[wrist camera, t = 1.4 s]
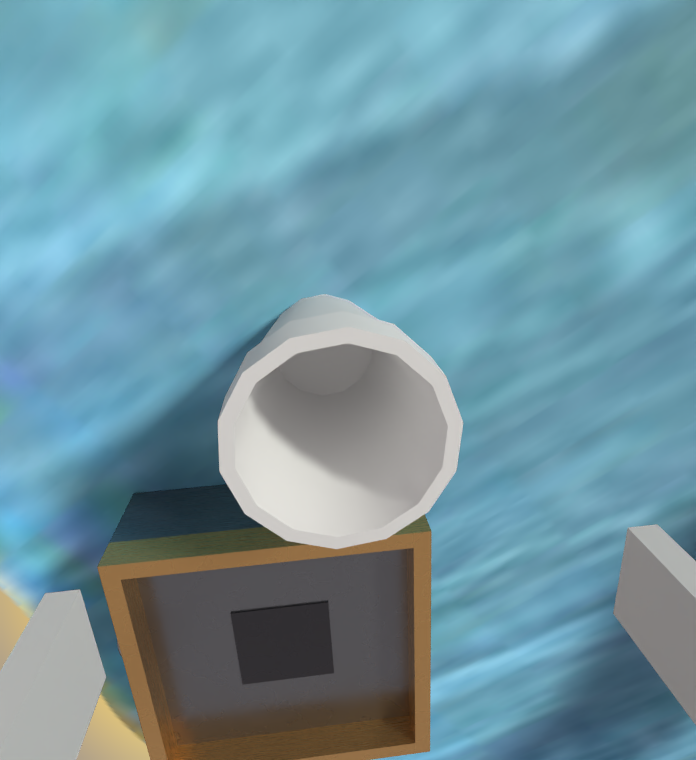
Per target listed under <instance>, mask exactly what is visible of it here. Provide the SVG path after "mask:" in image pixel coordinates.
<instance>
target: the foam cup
mask: <svg viewBox="0 0 696 760" xmlns="http://www.w3.org/2000/svg"><path fill="white" fill-rule="evenodd" d="M462 428H463V421H462V418H461V415H460V413H459V410H458V407H457V404H456V402H455V399H454V396H453V394H452V391H451V388H450V386H449V383H448V380H447V378H446V375H445V374H444V373H443V372H442V370H441V369H440V368H439V366H438V365H437V364H436V362H435V361H434V360H433V359H432V357H431V356H430V355H429V354H428V353H426V352H425V351H424V350H423V349H422V348H421V347H420V346H418V345H417V344H416V343H415V342H414V341H413V340H412V339H410V338H409V337H408V336H407V335H406V334H405V333H404V332H402V331H401V330H400V329H399V328H398V327H397V326H396V325H394V324H392V323H388V322H384V321H380V320H378V319H377V318H375V317H373V316H372V315H370V314H369V313H367V312H366V311H364V310H363V309H361V308H360V307H358V306H357V305H355V304H354V303H352V302H351V301H349V300H346V299H342V298H338V297H334V296H330V295H326V294H323V295H318V296H313V297H308V298H303V299H300V300H299V301H298V302H296V303H295V304H294V305H292V306H291V307H290V308H288V309H287V310H286V311H284V312H283V313H282V314H281V315H280V316H279V318H278V319H277V321H276V322H275V323H274V325H273V326H272V327H271V329H270V330H269V332H268V333H267V334H266V336H265V337H264V339H263V340H262V341H261V343H259V344H258V345H257V346H255V347H254V348H253V349H251V350H250V351H249V352H247V354H246V356H245V358H244V360H243V362H242V364H241V366H240V368H239V370H238V372H237V374H236V376H235V378H234V380H233V382H232V384H231V386H230V388H229V390H228V392H227V394H226V396H225V398H224V402H223V405H222V408H221V412H220V415H219V419H218V444H219V472H220V473H221V475H222V477H223V478H224V480H225V482H226V483H227V485H228V487H229V488H230V490H231V492H232V493H233V495H234V497H235V498H236V500H237V502H238V503H239V505H240V507H241V508H242V510H243V512H244V513H245V514H246V515H247V516H249V517H250V518H252V519H253V520H255V521H257V522H258V523H260V524H261V525H263V526H264V527H266V528H267V529H269V530H271V531H272V532H274V533H275V534H277V535H278V536H280V537H281V538H283V539H285V540H286V541H291V542H297V543H303V544H308V545H314V546H320V547H326V548H332V549H340V548H345V547H350V546H355V545H359V544H364V543H369V542H374V541H379V540H384V539H387V538H389V537H390V536H392V535H393V534H395V533H396V532H398V531H399V530H401V529H403V528H404V527H406V526H407V525H409V524H410V523H412V522H413V521H415V520H416V519H418V518H420V517H421V516H423V515H424V514H426V513H427V512H429V511H430V509H431V508H432V506H433V505H434V503H435V502H436V500H437V499H438V497H439V496H440V494H441V493H442V491H443V490H444V488H445V487H446V485H447V484H448V482H449V481H450V479H451V478H452V477H453V475H454V474H455V472H456V470H457V463H458V456H459V449H460V442H461V435H462Z"/></svg>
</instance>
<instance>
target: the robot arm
mask: <svg viewBox="0 0 696 760" xmlns="http://www.w3.org/2000/svg"><path fill="white" fill-rule="evenodd" d="M613 614H614V615H615V617H616V618H617V619H618V621H619V622H620V623H621V625H622V626H623V627H624V629H625V630H626V631H627V633H628V634H629V635H630V637H631V638H632V640H633V641H634V642H635V644H636V645H637V646H638V648H639V649H640V650H641V652H642V653H643V654H644V656H645V657H646V658H647V660H648V661H649V663H650V664H651V665H652V667H653V668H654V669H655V671H656V672H657V673H658V675H659V676H660V677H661V679H662V680H663V681H664V683H665V684H666V686H667V687H668V688H669V690H670V691H671V692H672V694H673V695H674V696H675V698H676V699H677V700H678V702H679V703H680V704H681V706H682V707H683V709H684V710H685V711H686V713H687V714H688V715H689V717H690V718H691V719H692V721H693V722H694V723H695V725H696V561H695V560H694V559H693V558H692V557H691V556H690V555H689V554H688V553H687V552H686V551H685V550H683V549H682V548H681V547H680V546H679V545H678V544H677V543H676V542H675V541H674V540H673V539H672V538H671V537H670V536H669V535H668V534H667V533H666V532H665V531H664V530H662V529H661V528H660V527H659V526H658V525H648V526H639V527H630V528H628V530H627V535H626V541H625V547H624V553H623V559H622V565H621V571H620V577H619V583H618V588H617V594H616V600H615V606H614V612H613ZM105 679H106V675H105V672H104V668H103V665H102V661H101V658H100V655H99V651H98V648H97V645H96V641H95V638H94V635H93V631H92V628H91V625H90V621H89V618H88V615H87V611H86V608H85V604H84V601H83V598H82V594H81V591H80V589H79V590H70V591H62V592H53V593H45V595H44V596H43V598H42V600H41V601H40V603H39V605H38V607H37V608H36V610H35V612H34V614H33V615H32V617H31V619H30V620H29V622H28V624H27V626H26V627H25V629H24V631H23V633H22V634H21V636H20V638H19V640H18V641H17V643H16V645H15V646H14V648H13V650H12V652H11V653H10V655H9V657H8V659H7V660H6V662H5V664H4V666H3V667H2V669H1V671H0V760H76V759H77V757H78V754H79V751H80V748H81V746H82V743H83V740H84V737H85V735H86V732H87V729H88V726H89V723H90V721H91V718H92V715H93V712H94V709H95V707H96V704H97V701H98V698H99V696H100V693H101V690H102V687H103V685H104V682H105Z"/></svg>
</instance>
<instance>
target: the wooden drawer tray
mask: <svg viewBox="0 0 696 760" xmlns="http://www.w3.org/2000/svg"><path fill="white" fill-rule="evenodd" d="M97 568H98V571H99V575H100V579H101V582H102V586H103V589H104V593H105V597H106V600H107V604H108V607H109V611H110V615H111V618H112V622H113V626H114V629H115V633H116V636H117V645H118V650H119V653H120V655H121V656H122V658H123V662H124V665H125V669H126V673H127V676H128V680H129V683H130V687H131V691H132V694H133V698H134V701H135V705H136V709H137V712H138V716H139V720H140V723H141V727H142V730H143V734H144V738H145V741H146V745H147V748H148V752H149V756H150V759H151V760H371V759H378V758H385V757H392V756H400V755H407V754H414V753H421V752H429V751H430V660H431V529H430V527H429V524H428V522H427V519H426V517H425V514H424V515H423V516H421V517H420V518H418V519H416V520H415V521H413V522H412V523H410V524H409V525H407V526H406V527H404V528H403V529H401V530H399V531H398V532H396V533H395V534H393V535H392V536H390V537H389V538H387V539H384V540H379V541H374V542H369V543H364V544H359V545H355V546H350V547H345V548H340V549H332V548H326V547H320V546H314V545H308V544H303V543H297V542H291V541H286V540H285V539H283V538H281V537H280V536H278V535H277V534H275V533H274V532H272V531H271V530H269V529H267V528H266V527H264V526H263V525H261V524H260V523H258V522H257V521H255V520H253V519H252V518H250V517H249V516H247V515H246V514H245V513H244V512H243V510H242V508H241V507H240V505H239V503H238V502H237V500H236V498H235V497H234V495H233V493H232V492H231V490H230V488H229V487H228V485H216V486H206V487H196V488H186V489H175V490H165V491H155V492H145V493H134V494H133V496H132V498H131V500H130V502H129V504H128V506H127V508H126V510H125V512H124V514H123V516H122V518H121V520H120V522H119V524H118V526H117V528H116V530H115V532H114V534H113V536H112V538H111V540H110V542H109V544H108V546H107V548H106V550H105V552H104V554H103V556H102V558H101V560H100V562H99V565H98V567H97Z"/></svg>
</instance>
